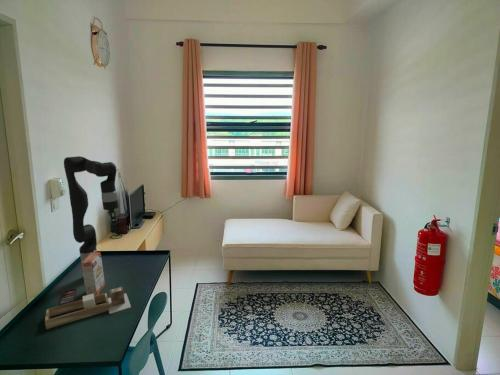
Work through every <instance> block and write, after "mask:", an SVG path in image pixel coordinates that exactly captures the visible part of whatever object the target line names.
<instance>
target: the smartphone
mask: <svg viewBox="0 0 500 375" xmlns="http://www.w3.org/2000/svg"><path fill="white" fill-rule="evenodd" d="M77 291H78V289H77V288H76V289H69V290H66V291H62V293H61V296H60V299H59V301H58V306H60V305H64V304H67V303H71V302H75V301H76V296H77Z"/></svg>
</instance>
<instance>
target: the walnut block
mask: <svg viewBox="0 0 500 375" xmlns="http://www.w3.org/2000/svg"><path fill="white" fill-rule="evenodd" d="M109 294H110V298H111V302H112V306H117V305H120V304H123V303H125V299H124V294H125V292H124V289H123V286H118V287H115V288H111V289H109Z"/></svg>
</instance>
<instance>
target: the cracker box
mask: <svg viewBox="0 0 500 375" xmlns="http://www.w3.org/2000/svg"><path fill="white" fill-rule="evenodd" d="M102 260H103V259H102V253H101V252H100V251H97V253H90V254H89V255H88V256H87V258H86V259H85V260H84V261H83V262H82V263H81V269H82V270H81V271H82V276H83V277H82V278H83V283H84V289H85V294H86V295H90V294H93V293H94V296H96V295H100V294H101V292H102V290H103V289H104V288H105V286H106V283H105V275H104V266H103V262H102ZM86 295H85V296H86Z"/></svg>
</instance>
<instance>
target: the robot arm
mask: <svg viewBox="0 0 500 375" xmlns="http://www.w3.org/2000/svg"><path fill="white" fill-rule="evenodd" d="M63 168H64V172H65V176H66V181H67V186H68V194H69V202H70V207H71V208H70V209H71V215H72V233H73V234H72V235H73V238H74V240H75V242H77V243H79V244H82V245H81V246H80V247H79V256H80V261H81V263H82V262H83V261H84V260H85V259H86V258H87V256H88V255H89V254H90V253H97V252H98V250H97V245H98V241H97V240H98V239H97V232H96V229H95V227H94V226H93V224H91V223H90V224H84V220H85V216H86V213H87V211H88V207H89V198H88V193H87V191H86V190H85V189H84V188H83V187H82V186H81V184H80V183H79V182H78V181H77V178H76V175H75V174H77V173H82V172H87V173H89V174H92V175H95V176H96V177H98V178H99V177H100V178H103V177H106V179H105V180H102V181H100V191H101V201H102V202H101V203H102V208H103V210H104V211H107V212H106V213H107V216H108V220H109V224H110V228H112V231H113V232H116V231H117V232H118V226H117V224H118V221H117V220H118V218H117V212H116V209H119V201H118V194H117V191H116V190H117V188H116V178H117V177H116V176H117V172H118V170H117V166H116V164H115V163H114V162H112V161H111V162H110V161H109V162H101V161H95V160H90V159H88V158H86V157H84V156H79V155H77V156H68V157H64V160H63Z"/></svg>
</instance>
